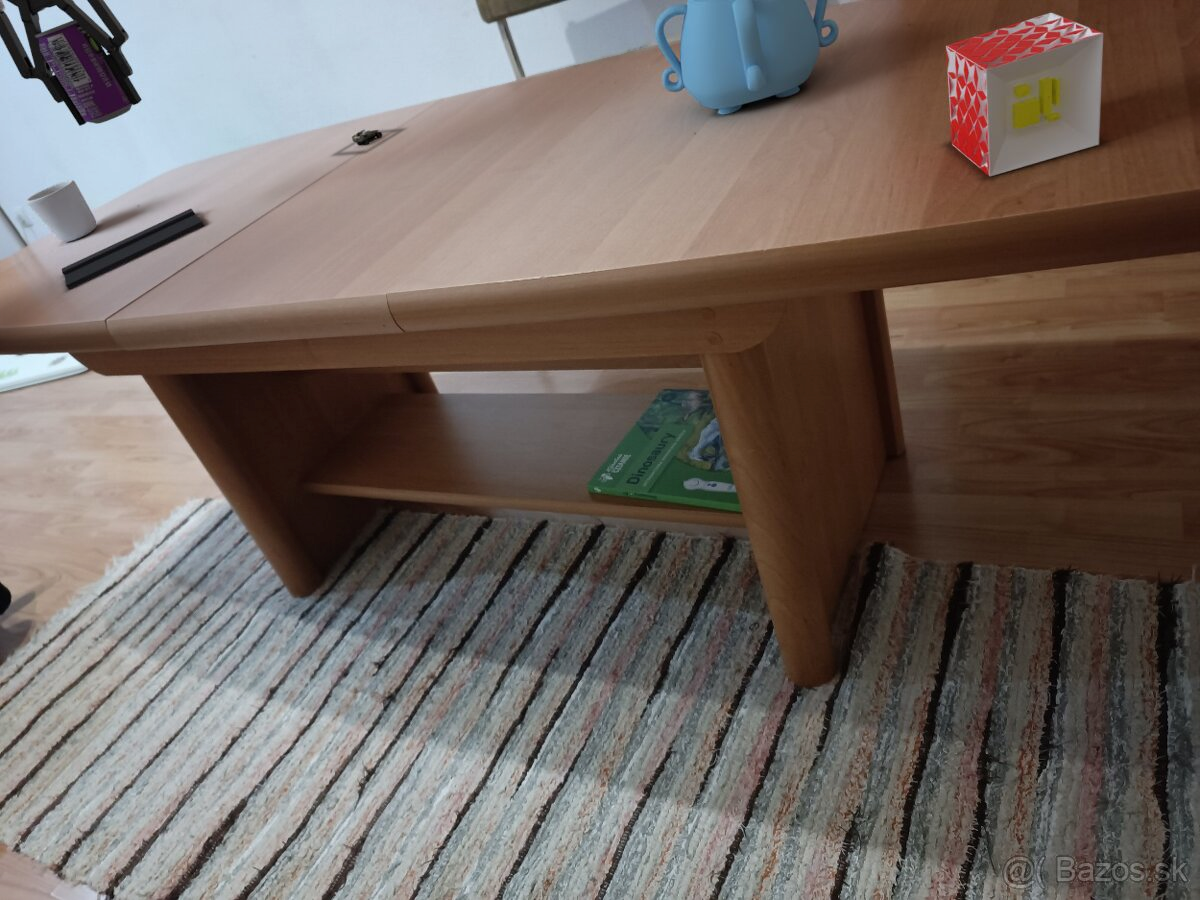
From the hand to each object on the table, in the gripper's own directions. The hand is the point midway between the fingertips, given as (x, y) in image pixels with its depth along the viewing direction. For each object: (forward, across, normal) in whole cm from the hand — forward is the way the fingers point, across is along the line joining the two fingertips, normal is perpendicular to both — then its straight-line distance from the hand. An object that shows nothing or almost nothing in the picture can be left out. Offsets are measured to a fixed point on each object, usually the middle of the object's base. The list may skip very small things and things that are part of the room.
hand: (110, 112), depth 121 cm
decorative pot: (+17, -75, +44) cm, 89 cm away
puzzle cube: (+17, -82, +81) cm, 116 cm away
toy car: (+17, -30, -5) cm, 35 cm away
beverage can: (+1, 0, 0) cm, 1 cm away
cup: (+17, +21, -21) cm, 35 cm away
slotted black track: (+17, +6, +4) cm, 19 cm away
